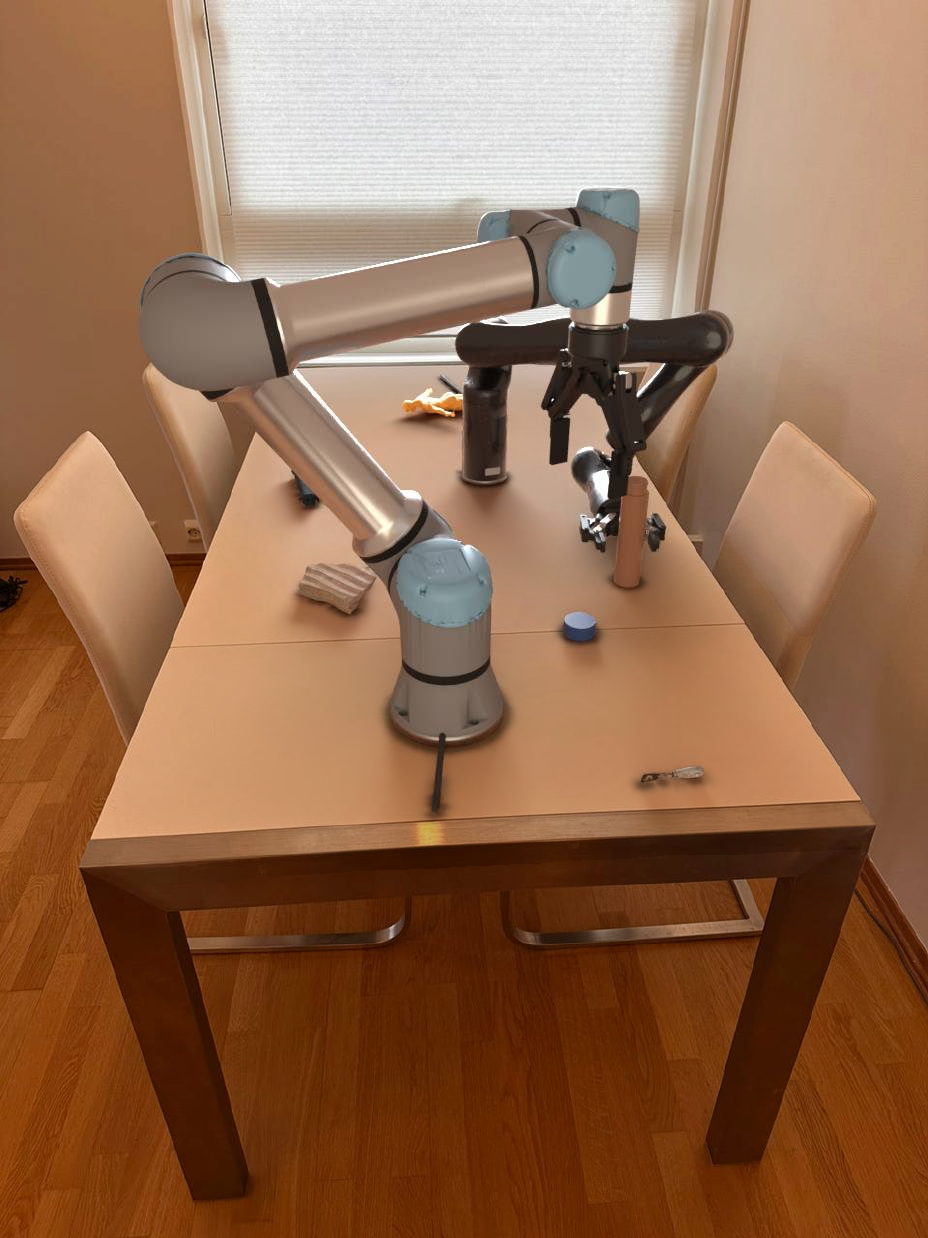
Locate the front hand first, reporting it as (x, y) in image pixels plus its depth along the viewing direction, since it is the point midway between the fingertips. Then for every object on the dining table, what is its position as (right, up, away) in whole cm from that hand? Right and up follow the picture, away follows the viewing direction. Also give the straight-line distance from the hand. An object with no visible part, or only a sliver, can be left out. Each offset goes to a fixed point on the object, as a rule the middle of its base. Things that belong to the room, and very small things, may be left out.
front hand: (586, 479), depth 124 cm
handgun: (-46, +8, +61) cm, 77 cm away
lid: (+1, -20, +13) cm, 24 cm away
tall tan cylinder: (+11, -13, +27) cm, 32 cm away
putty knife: (+8, -39, -15) cm, 43 cm away
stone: (-38, -15, +24) cm, 48 cm away
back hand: (+10, -8, +23) cm, 26 cm away
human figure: (-20, +33, +102) cm, 109 cm away
